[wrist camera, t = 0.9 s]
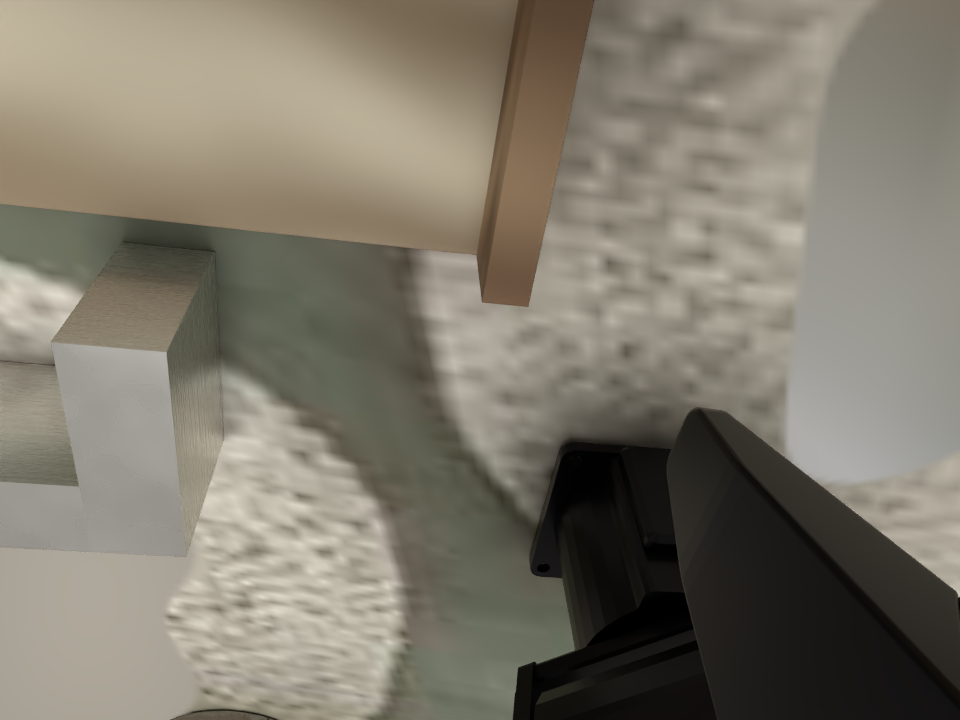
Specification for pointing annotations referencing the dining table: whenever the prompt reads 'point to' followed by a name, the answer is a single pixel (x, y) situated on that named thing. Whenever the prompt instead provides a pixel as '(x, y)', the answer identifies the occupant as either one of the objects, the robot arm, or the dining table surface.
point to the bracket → (118, 413)
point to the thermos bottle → (221, 716)
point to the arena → (299, 118)
